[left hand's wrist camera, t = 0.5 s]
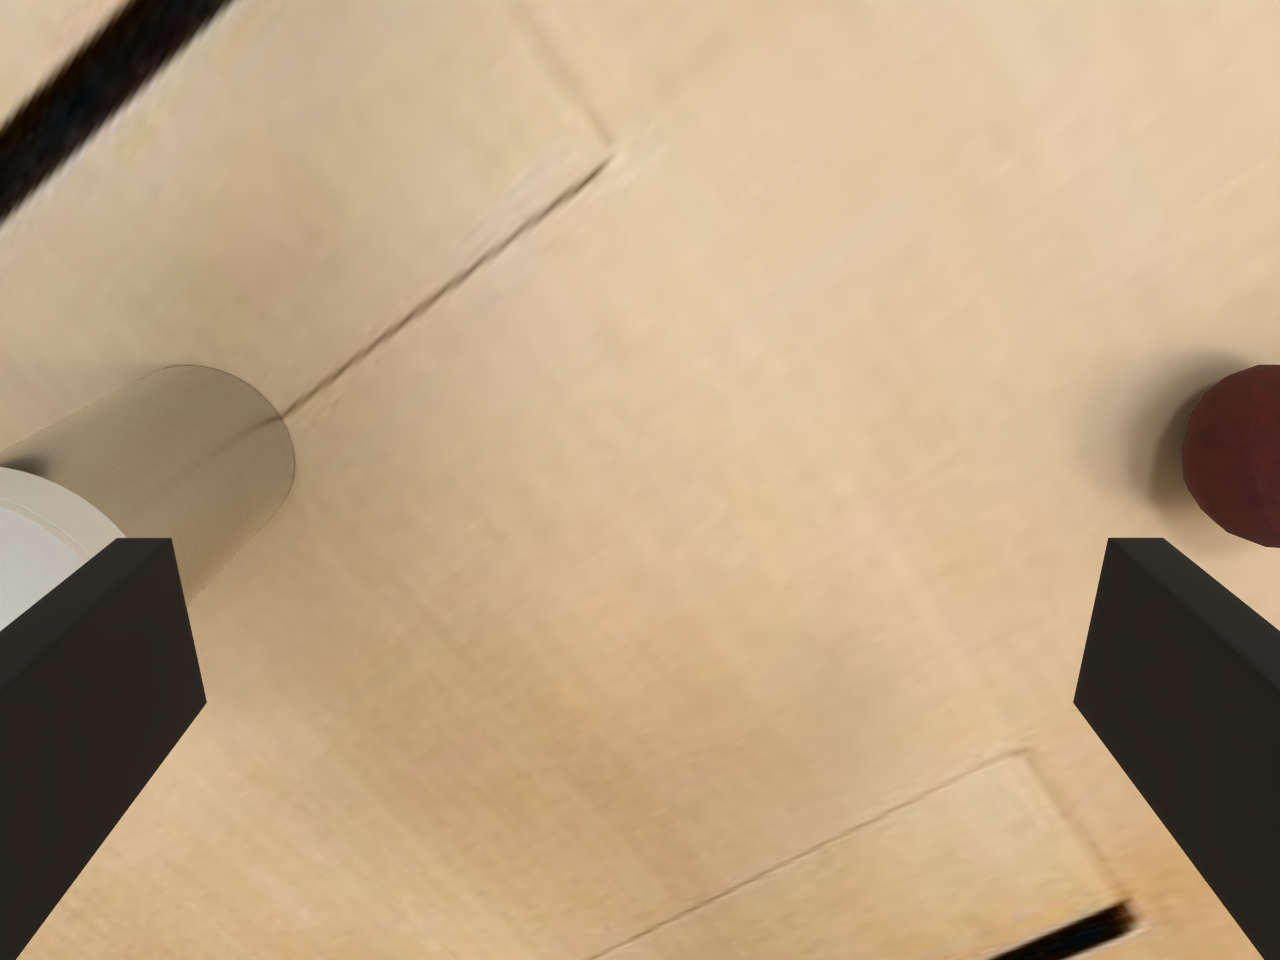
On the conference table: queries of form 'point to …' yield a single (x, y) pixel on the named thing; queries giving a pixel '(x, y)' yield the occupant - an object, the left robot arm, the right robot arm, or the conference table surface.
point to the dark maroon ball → (1238, 454)
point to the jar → (173, 464)
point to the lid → (43, 538)
